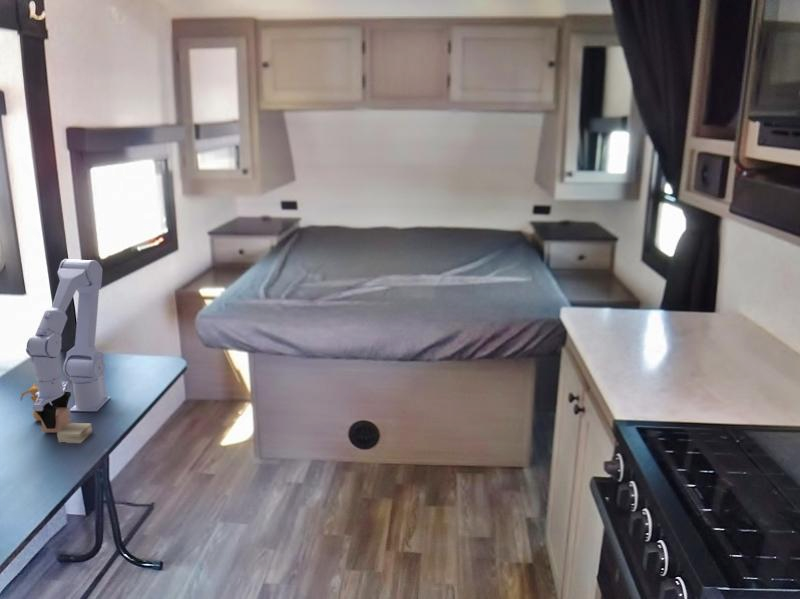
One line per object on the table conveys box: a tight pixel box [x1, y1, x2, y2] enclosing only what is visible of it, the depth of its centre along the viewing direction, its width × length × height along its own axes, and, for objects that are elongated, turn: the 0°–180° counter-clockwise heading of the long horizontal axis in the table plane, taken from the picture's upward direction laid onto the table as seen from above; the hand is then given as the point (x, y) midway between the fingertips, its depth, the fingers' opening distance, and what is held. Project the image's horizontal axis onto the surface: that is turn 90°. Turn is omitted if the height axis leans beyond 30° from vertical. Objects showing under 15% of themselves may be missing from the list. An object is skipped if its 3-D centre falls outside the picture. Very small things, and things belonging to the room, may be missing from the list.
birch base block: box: [56, 422, 93, 444], centre depth 170 cm, size 6×6×3 cm
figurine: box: [19, 383, 41, 422], centre depth 177 cm, size 8×6×12 cm
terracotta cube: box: [40, 407, 71, 433], centre depth 173 cm, size 5×5×5 cm
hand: (56, 423), depth 174 cm, fingers closed on terracotta cube, 5 cm apart
